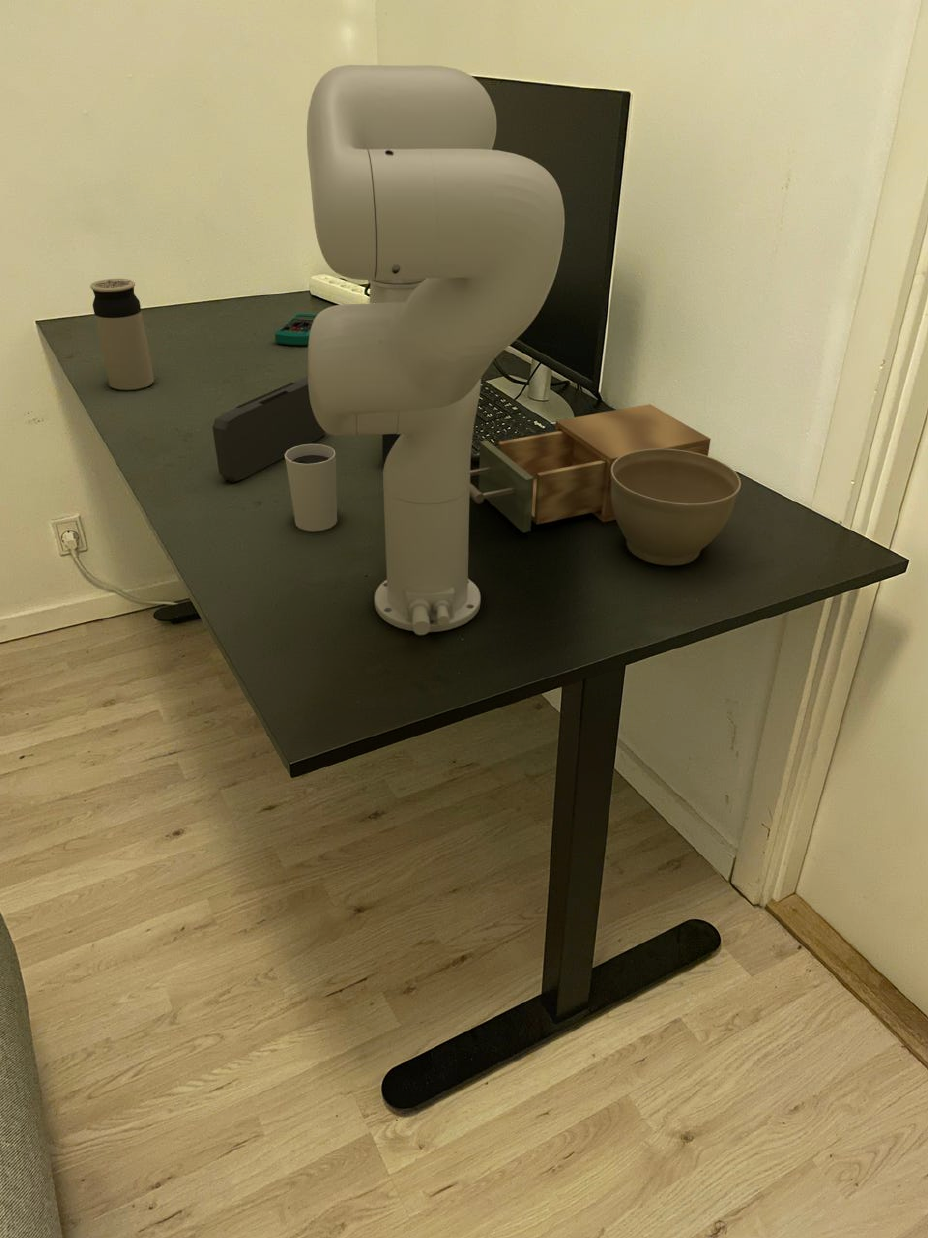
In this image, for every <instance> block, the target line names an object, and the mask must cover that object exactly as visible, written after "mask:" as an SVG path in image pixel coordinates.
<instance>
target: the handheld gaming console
mask: <svg viewBox="0 0 928 1238" xmlns="http://www.w3.org/2000/svg"><path fill="white" fill-rule="evenodd" d="M211 428H212V434H213V440H214V441H213V442H214V447H215V454H216V459H217V460H216V461H217V467H218V473H219V475H220V476H221V477H222V478H223V479H224V480H226V481H228V482H232V483H234V482H238V481H241V480H244V479H246V478H248V477H250V476H252V475H253V474H256V473H258V472H260V471H261V470H264V468H267V467H269V466H270V465H273V464H274V463H277V462H278V461H280V460H282V459H285V453H286V452H287V450H289V449H291V448H293V447H295V446H299V445H304V444H313V443H314V442H316V441H318V440H320V439H321V438H322V437H324V436H325V433H326V432H325V431H324V430H323V429H322V428H321V426H320V425H319V423H318V422H317V420H316V418H315V416H314V413H313V410H312V407H311V403H310V397H309V387H308V376H307V377H303V378H300V379H297V380H296V381H293V382H290V383H289V382H288V383H287V384H285V385H283V386H282V385H281V386H280V387H278V388H276V389H274V390H271V391H268V392H267V393H264V394H262V395H260V396H258V397H255V398H254V399H251V400H248V401H246V402H244V403H242V404H239V405H238V406H235V408H232V409H230V410H228V411H226V412H223V413H222V414H220V415H219V416H217V417H215V419H214V421H213V424H212V427H211Z"/></svg>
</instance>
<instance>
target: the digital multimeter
mask: <svg viewBox="0 0 928 1238" xmlns="http://www.w3.org/2000/svg"><path fill="white" fill-rule="evenodd" d="M317 315H318V314H316V313H314V314H313V313H295V315H293V317H291V318H290V319H289V321H287V322H286V323H284V325H283V326H281V327H280V328H279V329H278V330H277V331H275V333H274V338H275V339H274V340H275V343H276V344H277V345H284V346H300V347H308V344H309V336H310V331H311V327H312V324H313V322H314V319H315V318H316V316H317Z"/></svg>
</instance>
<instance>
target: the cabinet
mask: <svg viewBox="0 0 928 1238" xmlns="http://www.w3.org/2000/svg"><path fill="white" fill-rule="evenodd" d="M557 431H564V432H565V433H567V434H568V435H570V436H571V437H572V438H574V439H575V440H577V441H578V442H580V443H581V444H583V445H584V446H585V447H587V448H588V449H590V450H591V451H593V452H594V453H595V454H597V455H598V456H600V457H601V458H603V459H604V460H606V461H607V468H606V477H605V487H604V496H603V505H602V510H601V511H596V512H592V513H591V514H592V515H594V516H595V517H596V518H597V519H598V520H600V521H601V522H602V523H608V522H611V521H616V518H615V515H614V512H613V507H612V502H611V466H612V464H613V462H614V461H615V460H616V459H617V458H619V457H621V456H622V455H625V454H627V453H630V452H634V451H639V450H645V449H677V450H684V451H690V452H695V453H699V454H703V455H706V456H709V453H710V452H709V451H710V447H711V440H712V438H710V437H708V436H707V435H705V434H703V433H702V432H700V431H698V430H697V429H694V428H693V427H691V426H690V425H687V424H686V423H684V422H683V421H680V420H679V419H677V418H675V417H674V416H671V415H670V414H668V413H666V412H664V411H663V410H661V409H660V408H658V407H656V406H654V405H652V404H651V403H649V404H642V405H638V406H632V407H626V408H621V409H615V410H609V411H603V412H597V413H592V414H586V415H580V416H575V417H569V418H568V417H567V418H564V419H563V418H562V419H557V420H555V424H554V432H557Z"/></svg>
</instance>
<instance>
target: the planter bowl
mask: <svg viewBox="0 0 928 1238" xmlns="http://www.w3.org/2000/svg"><path fill="white" fill-rule="evenodd" d="M741 487H742V481H741V478H740V476H739V474H738V473H737V472H736V471H735V470H734V469H732V467H730V466H729V465H728V464H726V463H724V462H722V461H720V460H718V459H716V458H713V457H711V456H709V455H708V456H706V455H703V454H699V453H695V452H690V451H684V450H677V449H645V450H639V451H634V452H630V453H627V454H625V455H622V456H621V457H619V458H617V459H616V460H615V461H614V462H613V464H612V466H611V502H612V507H613V512H614V515H615V518H616V520H615V521H616V524H617V526H618V528H619V530H620V531H621V534H622V535H623V536H624V538H625V539H626V547H627V549H628V551H629V552H630V553H631V554H632V555H634V556H635V557H636V558H638V559H640V560H642V561H644V562H647V563H651V564H655V565H660V566H681V565H685V564H686V565H687V564H689V563H691V562H694V561H695V560H696V559H697V558H698V557H699V555H700V554H701V551H702V550H703V549H705V548H706V547H707V546H708V545H709V544H711V542H713V540H714V539H716V537H717V536H718V535H719V534H720V532H721V531H722V530H723V528H724V527H725V526H726V524H727V522H728V521H729V518H730V516H731V514H732V512H733V509H734V507H735V503H736V499H737V498H738V496H739V494H740V491H741Z"/></svg>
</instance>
